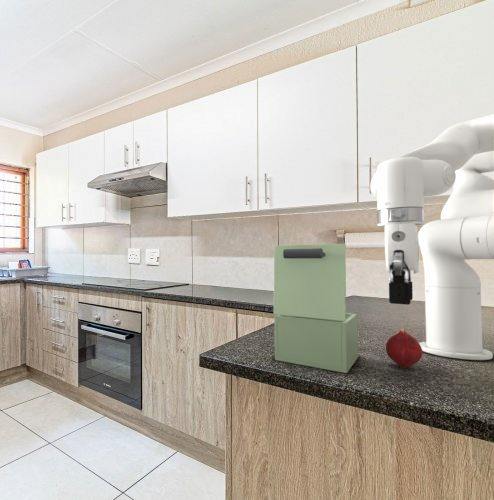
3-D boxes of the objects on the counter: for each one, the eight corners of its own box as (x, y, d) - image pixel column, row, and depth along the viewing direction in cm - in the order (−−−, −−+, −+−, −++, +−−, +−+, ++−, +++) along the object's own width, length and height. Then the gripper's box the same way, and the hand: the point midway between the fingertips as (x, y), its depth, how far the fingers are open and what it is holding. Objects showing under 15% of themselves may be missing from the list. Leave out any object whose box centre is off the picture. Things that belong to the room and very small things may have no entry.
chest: (294, 347, 88) (293, 308, 88) (358, 356, 79) (357, 313, 79) (274, 360, 77) (274, 316, 78) (346, 373, 68) (345, 323, 68)
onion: (429, 373, 68) (428, 332, 68) (396, 371, 69) (395, 331, 69) (411, 364, 73) (410, 326, 74) (380, 363, 75) (379, 325, 75)
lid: (275, 246, 79) (266, 243, 75) (345, 244, 70) (340, 241, 66) (274, 314, 78) (266, 315, 74) (346, 321, 69) (340, 322, 65)
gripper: (423, 213, 63) (425, 307, 62) (424, 221, 76) (426, 299, 75) (372, 216, 68) (373, 303, 67) (381, 223, 81) (382, 297, 80)
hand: (401, 301), depth 71 cm, fingers open, 9 cm apart
